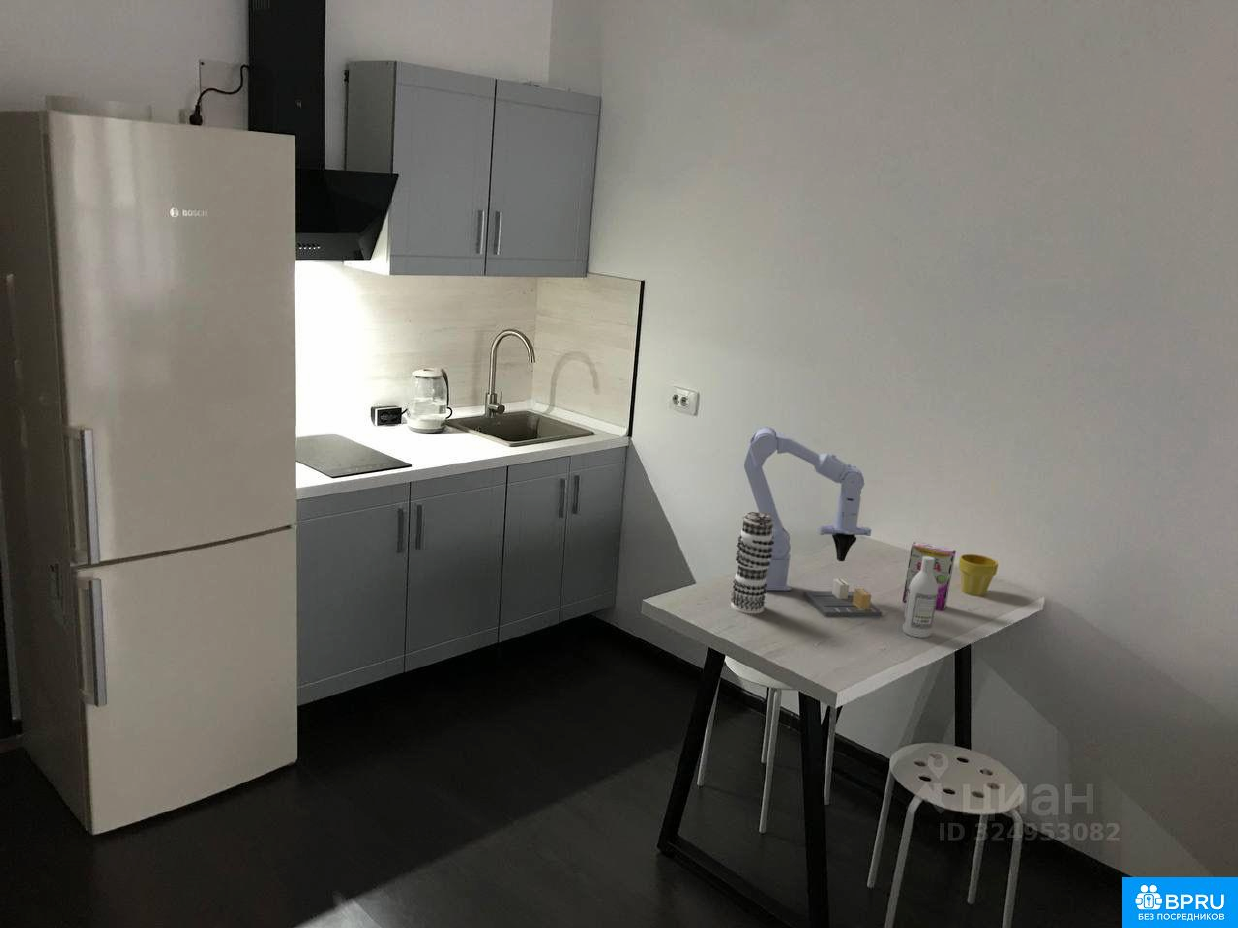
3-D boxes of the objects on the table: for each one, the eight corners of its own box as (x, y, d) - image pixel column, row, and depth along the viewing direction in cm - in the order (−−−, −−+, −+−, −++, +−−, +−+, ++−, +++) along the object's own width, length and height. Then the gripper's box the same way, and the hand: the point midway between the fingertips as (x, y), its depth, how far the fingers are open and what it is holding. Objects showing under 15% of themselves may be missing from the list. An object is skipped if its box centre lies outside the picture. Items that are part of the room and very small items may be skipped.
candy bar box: (901, 602, 282) (911, 545, 278) (905, 597, 286) (914, 540, 283) (943, 611, 278) (953, 553, 274) (946, 606, 282) (956, 549, 278)
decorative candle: (770, 606, 269) (782, 514, 264) (757, 616, 261) (769, 522, 256) (737, 598, 273) (748, 507, 268) (724, 607, 265) (735, 514, 260)
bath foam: (936, 637, 259) (949, 561, 254) (915, 639, 255) (927, 563, 251) (917, 626, 265) (929, 552, 260) (896, 629, 262) (908, 554, 257)
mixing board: (825, 616, 266) (825, 611, 266) (802, 595, 280) (803, 591, 280) (882, 616, 270) (882, 612, 269) (857, 595, 284) (857, 591, 283)
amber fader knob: (860, 609, 270) (862, 594, 269) (852, 603, 274) (855, 588, 273) (869, 609, 270) (871, 594, 269) (861, 603, 275) (863, 588, 274)
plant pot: (987, 601, 289) (993, 568, 287) (950, 591, 295) (955, 558, 292) (996, 592, 298) (1002, 560, 295) (960, 583, 303) (966, 551, 301)
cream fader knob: (838, 598, 276) (840, 584, 275) (831, 592, 280) (834, 578, 280) (847, 598, 277) (849, 584, 276) (840, 592, 281) (842, 578, 280)
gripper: (828, 515, 273) (821, 564, 276) (878, 516, 276) (871, 565, 279) (817, 508, 279) (811, 555, 282) (867, 509, 283) (860, 556, 286)
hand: (840, 560), depth 281 cm, fingers closed
